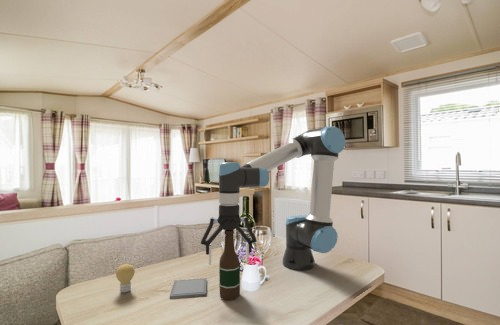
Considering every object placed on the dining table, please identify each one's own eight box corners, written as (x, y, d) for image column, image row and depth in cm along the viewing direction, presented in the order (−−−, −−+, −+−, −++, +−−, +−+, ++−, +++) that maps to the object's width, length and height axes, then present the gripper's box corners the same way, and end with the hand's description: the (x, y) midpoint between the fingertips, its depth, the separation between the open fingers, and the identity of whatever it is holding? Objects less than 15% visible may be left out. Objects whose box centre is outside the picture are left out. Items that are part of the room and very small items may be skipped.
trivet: (206, 280, 109) (206, 278, 109) (206, 295, 96) (206, 293, 96) (174, 282, 107) (174, 280, 107) (169, 298, 94) (169, 295, 94)
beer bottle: (237, 302, 92) (236, 233, 92) (216, 300, 93) (215, 232, 93) (242, 291, 99) (242, 228, 99) (222, 289, 101) (222, 227, 101)
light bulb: (131, 285, 105) (130, 260, 105) (137, 291, 100) (137, 264, 100) (113, 291, 100) (113, 264, 100) (119, 297, 96) (119, 269, 96)
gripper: (260, 202, 102) (260, 257, 102) (195, 203, 98) (194, 260, 98) (264, 205, 95) (264, 264, 94) (193, 206, 91) (193, 268, 91)
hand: (228, 262), depth 96 cm, fingers open, 13 cm apart
